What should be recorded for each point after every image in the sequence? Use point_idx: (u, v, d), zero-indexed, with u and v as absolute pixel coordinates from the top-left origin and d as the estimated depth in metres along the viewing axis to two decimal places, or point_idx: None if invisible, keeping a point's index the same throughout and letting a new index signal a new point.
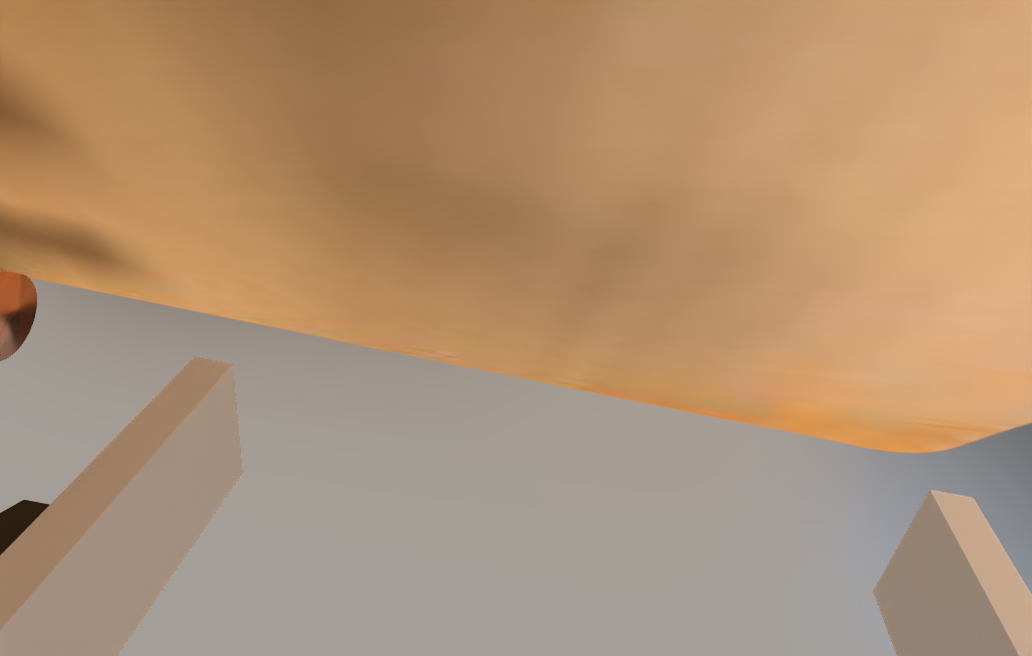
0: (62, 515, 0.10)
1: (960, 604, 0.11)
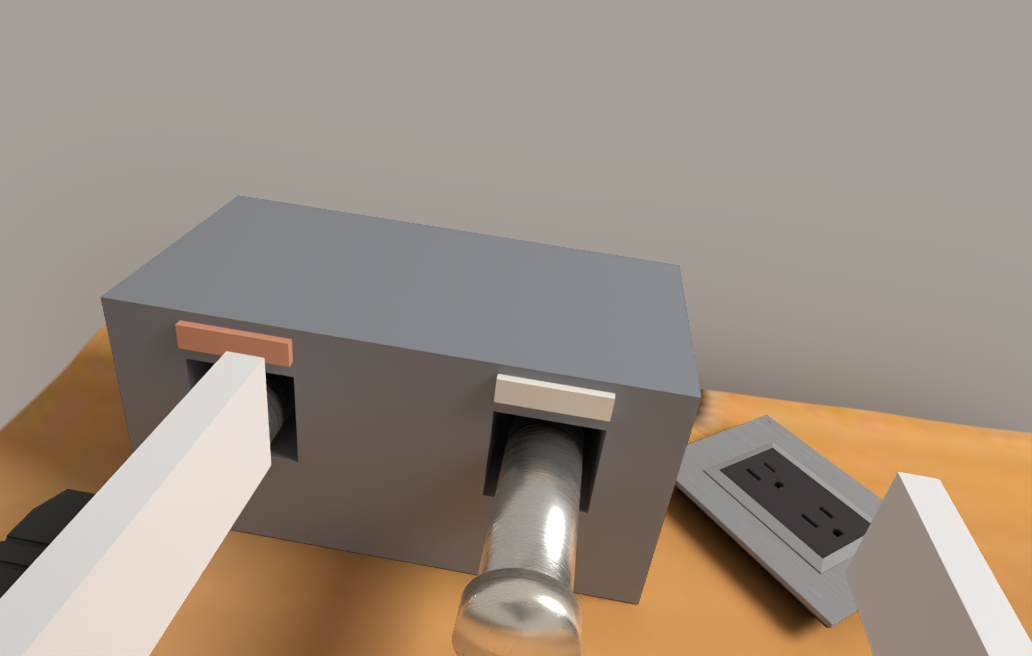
0: (110, 503, 0.10)
1: (923, 581, 0.12)
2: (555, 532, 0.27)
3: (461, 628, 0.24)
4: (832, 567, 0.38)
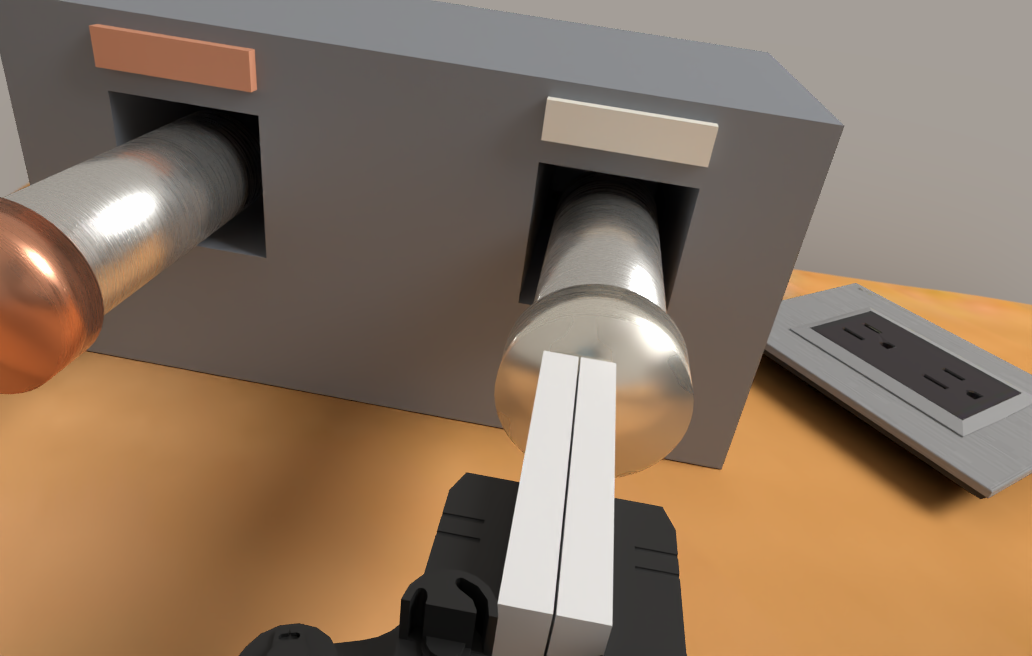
0: (538, 483, 0.12)
1: None
2: (641, 269, 0.19)
3: (509, 368, 0.16)
4: (975, 431, 0.28)
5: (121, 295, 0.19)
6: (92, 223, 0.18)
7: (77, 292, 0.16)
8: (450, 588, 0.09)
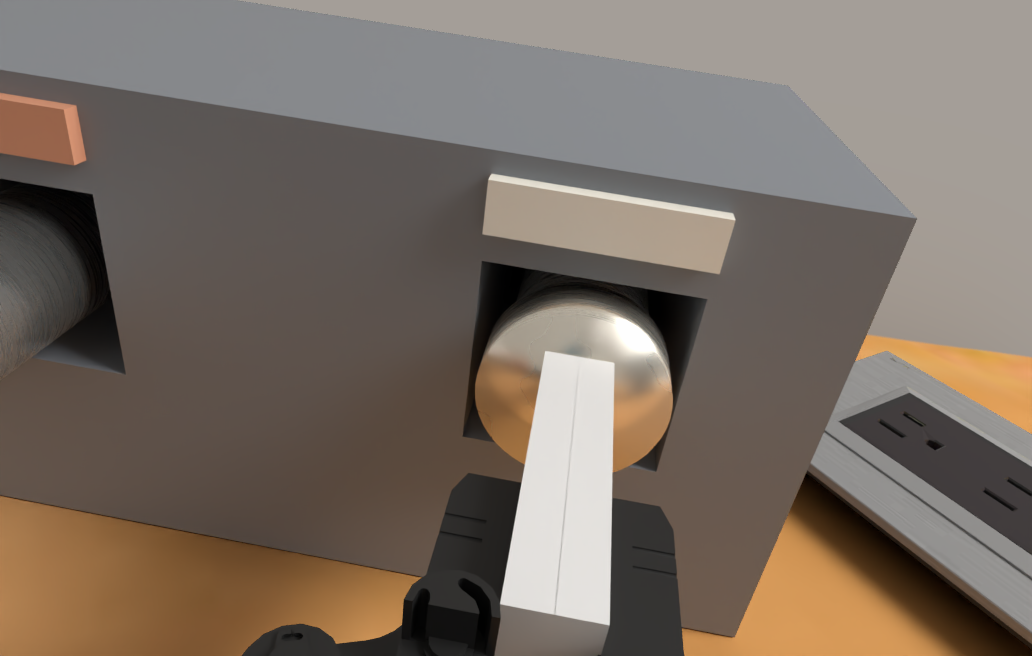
0: (539, 483, 0.12)
1: None
2: None
3: (489, 368, 0.16)
4: None
5: None
6: None
7: None
8: (453, 588, 0.09)
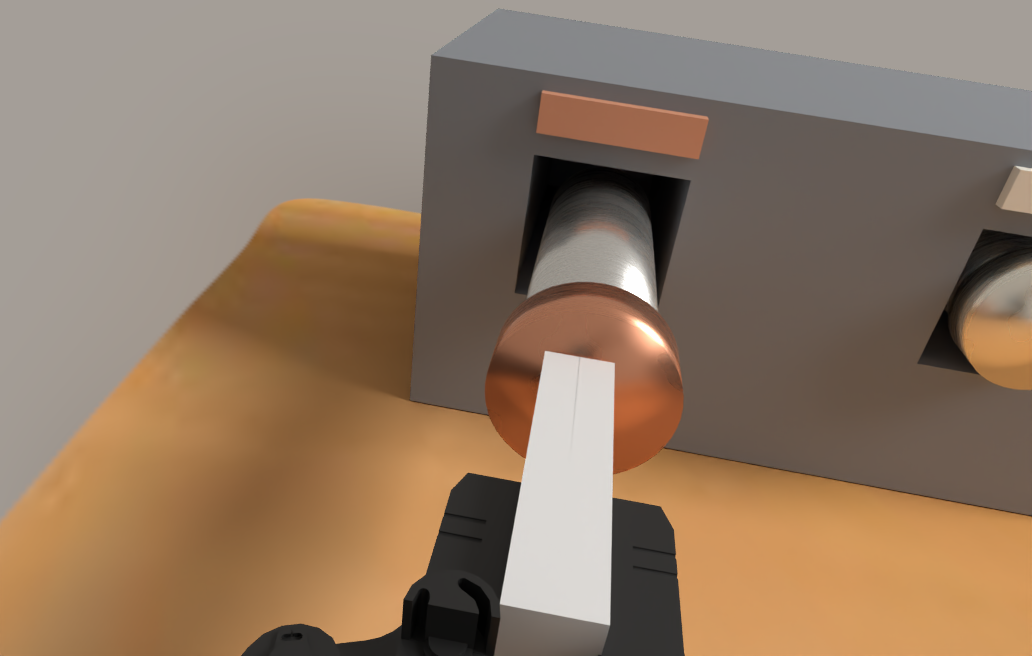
0: (539, 483, 0.12)
1: None
2: None
3: (988, 306, 0.22)
4: None
5: None
6: (648, 303, 0.18)
7: None
8: (453, 588, 0.09)
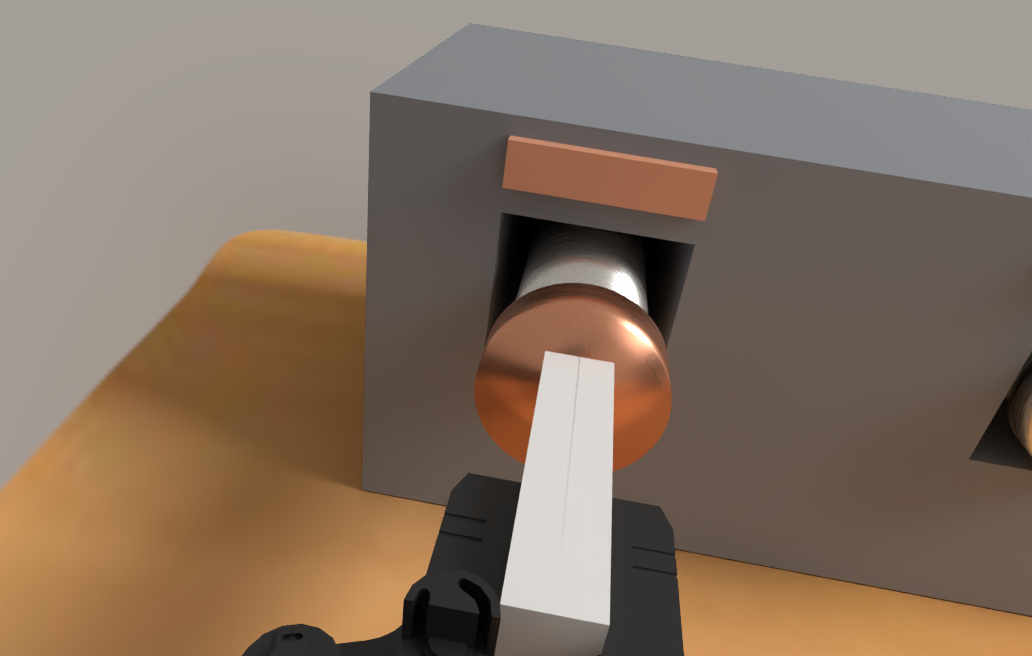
0: (539, 483, 0.12)
1: None
2: None
3: None
4: None
5: None
6: (637, 303, 0.18)
7: None
8: (453, 589, 0.09)
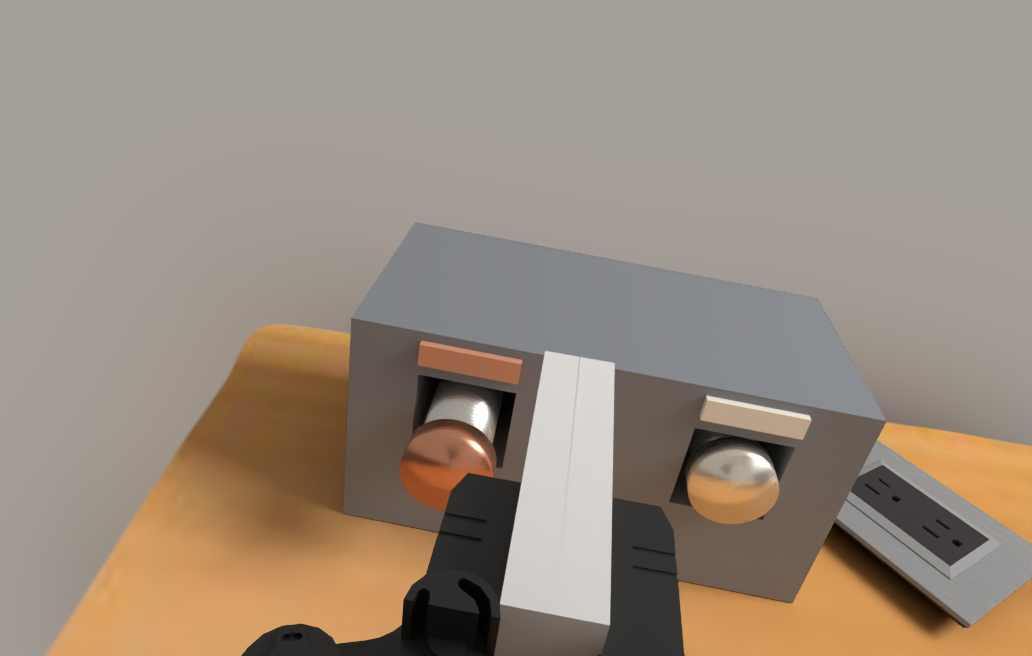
0: (539, 483, 0.12)
1: None
2: None
3: (697, 476, 0.36)
4: (959, 574, 0.42)
5: None
6: (485, 424, 0.35)
7: (494, 465, 0.34)
8: (453, 588, 0.09)
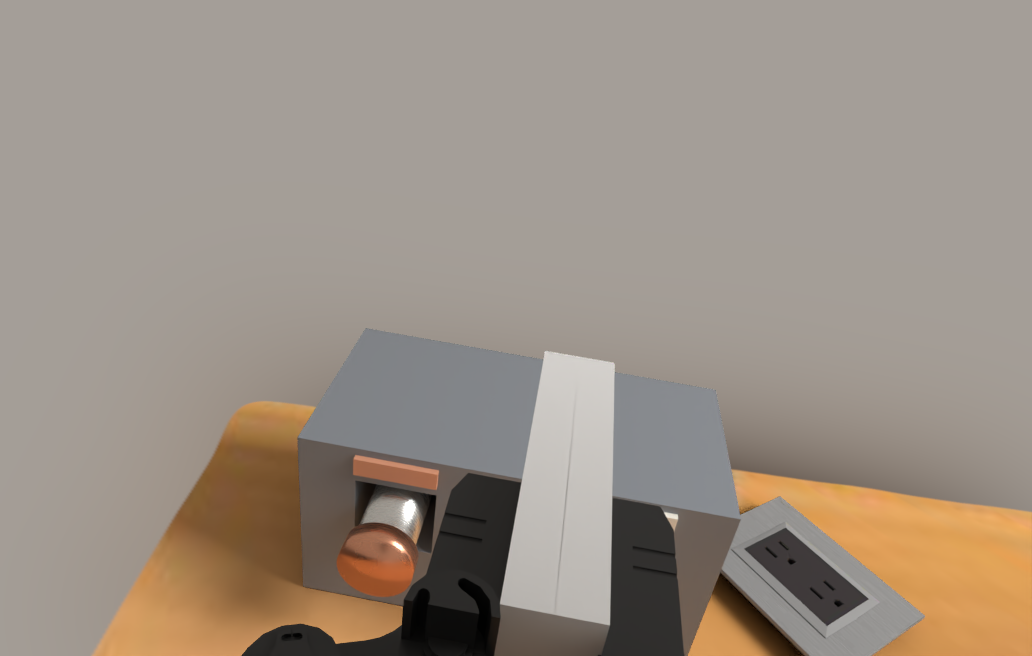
0: (539, 483, 0.12)
1: None
2: None
3: None
4: (834, 633, 0.49)
5: None
6: (410, 522, 0.42)
7: (415, 560, 0.41)
8: (452, 588, 0.09)
